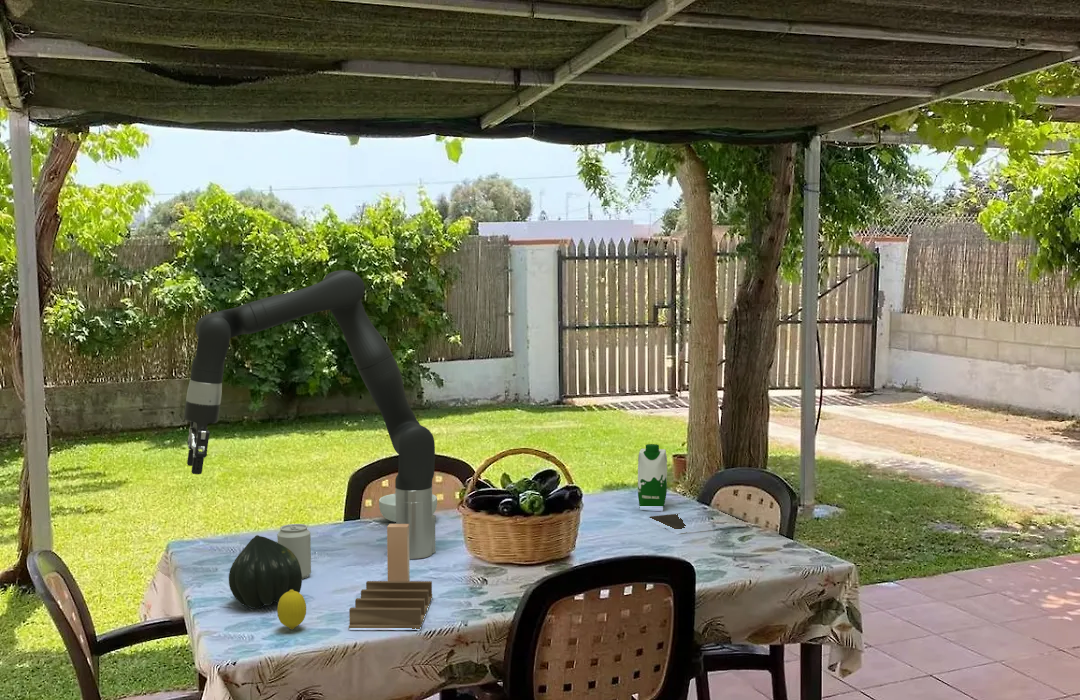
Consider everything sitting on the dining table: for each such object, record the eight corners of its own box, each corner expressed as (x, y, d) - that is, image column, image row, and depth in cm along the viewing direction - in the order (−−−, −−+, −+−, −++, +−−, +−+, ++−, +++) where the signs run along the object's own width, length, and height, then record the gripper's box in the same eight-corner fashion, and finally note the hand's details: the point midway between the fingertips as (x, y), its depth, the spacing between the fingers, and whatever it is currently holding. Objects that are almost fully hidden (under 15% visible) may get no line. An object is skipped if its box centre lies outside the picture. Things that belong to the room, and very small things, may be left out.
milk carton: (636, 511, 291) (637, 445, 290) (639, 504, 300) (639, 441, 299) (665, 512, 289) (666, 446, 288) (667, 506, 298) (668, 442, 297)
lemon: (280, 625, 192) (279, 585, 192) (308, 624, 193) (308, 585, 192) (275, 634, 187) (274, 594, 186) (304, 634, 187) (303, 593, 187)
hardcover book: (747, 529, 272) (748, 521, 272) (676, 536, 263) (676, 528, 263) (717, 516, 287) (717, 509, 286) (648, 523, 278) (648, 515, 278)
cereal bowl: (380, 515, 285) (380, 492, 285) (437, 514, 287) (437, 491, 287) (377, 530, 268) (377, 505, 268) (437, 528, 270) (437, 503, 270)
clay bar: (389, 584, 219) (389, 523, 218) (409, 584, 219) (409, 523, 218) (387, 588, 216) (387, 527, 215) (407, 588, 216) (407, 527, 215)
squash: (303, 588, 198) (298, 523, 207) (227, 597, 194) (225, 531, 203) (303, 616, 209) (298, 553, 218) (231, 625, 205) (229, 561, 214)
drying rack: (368, 598, 209) (367, 580, 209) (432, 598, 209) (432, 580, 209) (348, 630, 189) (348, 610, 189) (419, 631, 189) (419, 611, 189)
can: (281, 583, 219) (281, 531, 219) (274, 574, 226) (274, 524, 225) (314, 579, 223) (313, 527, 222) (306, 570, 230) (305, 521, 229)
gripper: (225, 407, 217) (215, 477, 218) (215, 397, 229) (206, 463, 230) (190, 404, 213) (180, 476, 214) (182, 394, 226) (173, 462, 227)
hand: (194, 469), depth 222 cm, fingers open, 8 cm apart
